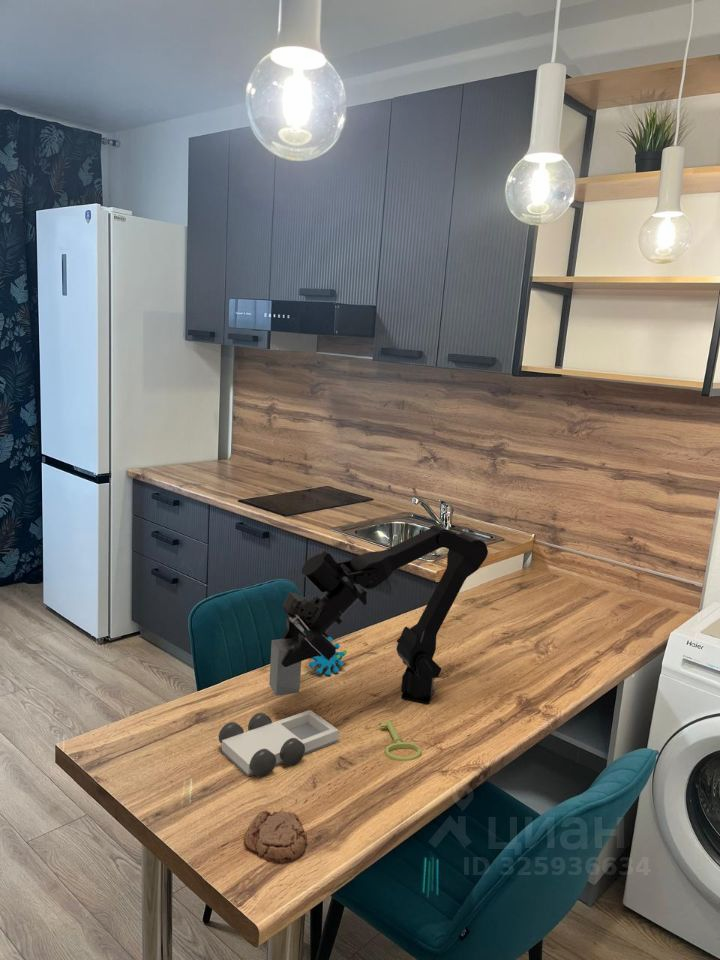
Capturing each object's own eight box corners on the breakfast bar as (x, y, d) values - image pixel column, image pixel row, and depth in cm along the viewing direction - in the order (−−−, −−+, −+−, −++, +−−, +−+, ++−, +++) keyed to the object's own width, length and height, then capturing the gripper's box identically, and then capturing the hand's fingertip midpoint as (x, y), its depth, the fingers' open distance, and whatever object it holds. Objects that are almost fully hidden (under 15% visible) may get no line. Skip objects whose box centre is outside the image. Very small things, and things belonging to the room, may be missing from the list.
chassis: (304, 717, 152) (306, 697, 151) (342, 745, 143) (344, 724, 142) (217, 748, 139) (218, 726, 138) (253, 781, 130) (254, 757, 129)
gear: (311, 674, 168) (304, 633, 173) (300, 683, 172) (294, 643, 177) (352, 673, 174) (344, 633, 179) (341, 682, 178) (333, 643, 183)
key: (388, 727, 152) (389, 717, 151) (425, 757, 142) (426, 748, 142) (359, 735, 148) (360, 726, 147) (396, 767, 138) (397, 757, 138)
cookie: (275, 874, 108) (276, 857, 108) (231, 838, 115) (232, 821, 115) (323, 843, 116) (324, 827, 115) (278, 811, 123) (279, 795, 122)
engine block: (292, 681, 155) (294, 637, 153) (299, 692, 150) (302, 647, 148) (269, 684, 153) (271, 640, 151) (276, 695, 148) (278, 650, 147)
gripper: (294, 566, 157) (242, 618, 155) (324, 597, 140) (266, 656, 138) (326, 598, 162) (276, 649, 160) (359, 631, 145) (303, 689, 143)
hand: (279, 659), depth 150 cm, fingers closed on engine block, 5 cm apart
